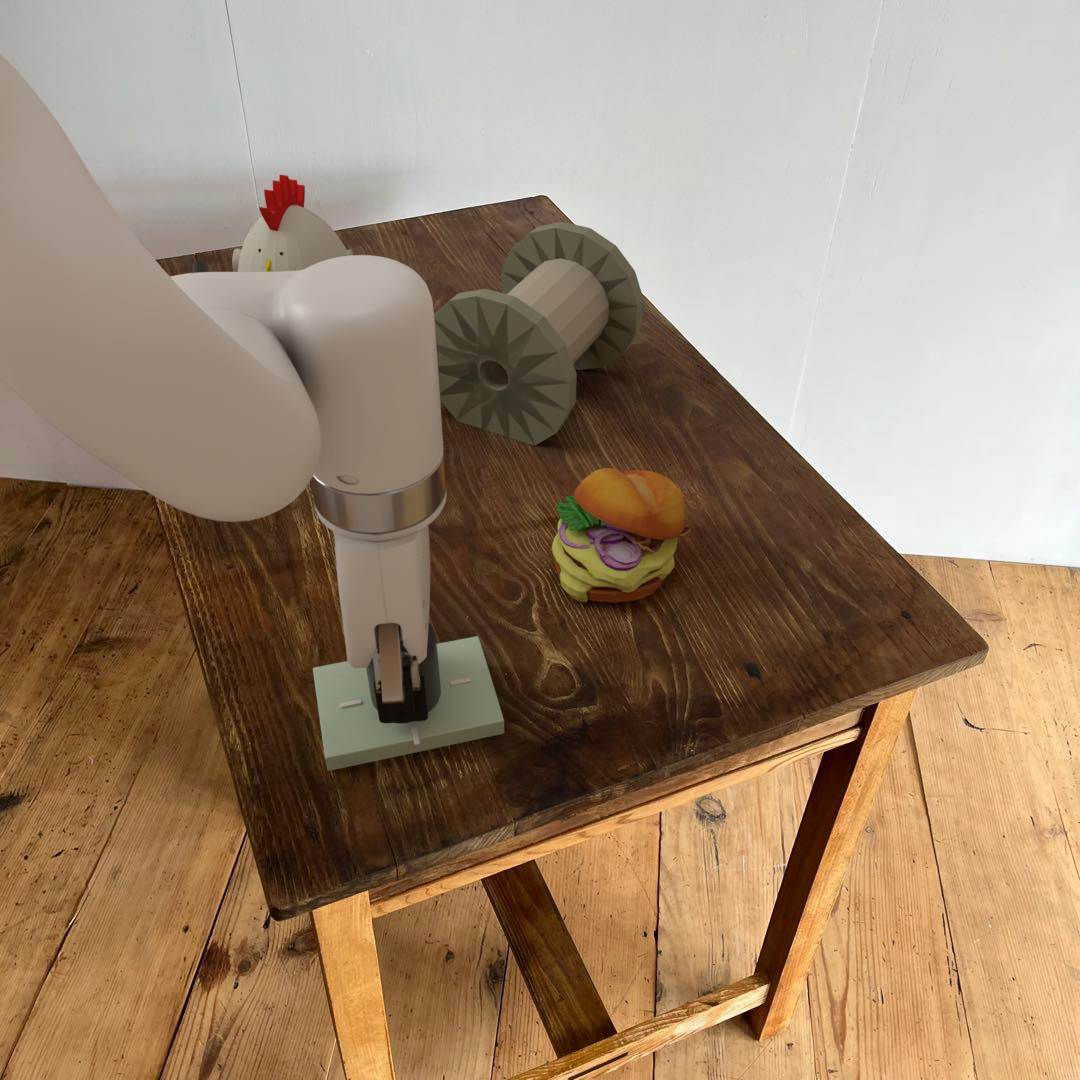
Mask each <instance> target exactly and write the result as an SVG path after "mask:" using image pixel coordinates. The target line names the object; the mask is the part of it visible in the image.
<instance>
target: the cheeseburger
mask: <svg viewBox="0 0 1080 1080" xmlns="http://www.w3.org/2000/svg"><path fill="white" fill-rule="evenodd" d="M564 500H565V501H566V502H562V501H558V503H557V504H558V505H557V508H556V511H557V513H559V516H558V518H559V520H558V522H557V533H556V534H555V536H554V537H553V542H552V545H551V550H552V554H553V563H554V566H555V569H556V573H557V576H558V579H559V582H560V587H561V588H562V589H563V590H564V591H565V592H566V594H568V595H569V596H570V597H571V599H574V600H575V601H576V602H579V603H587V602H588V600H590V601H592V602H600V603H601V602H602V603H622V602H623V603H624V602H630V601H631V602H632V601H638V600H640V599H643V598H645V597H648V596H651V595H653V594H654V593H655V592H656V590H657V589H658V588H659V587H660V586H661V585H662V584H663V582H664V580H665V579H666V578H667V576H668V575H669V574H671V572H672V571H673V569H674V568H675V557H674V555H675V552H676V550H677V547H678V538H679V537H681V536H686V535H687V534H689V533H690V532H691V528H690V527H691V526H690V525H688V524H685V523H686V516H687V509H686V504H685V499H684V495H683V491H682V490H681V489H680V488H679V487H678V486H677V484H675V483H674V482H673V481H672V479H670V478H668V477H667V476H664V475H663V474H661V473H658V472H655V471H651V470H642V469H641V470H640V469H628V470H627V469H625V470H618V469H616V468H612V467H602V468H600V469H596V470H593V472H591V473H590V474H588V475H587V476H586V477H585V478H583V479H582V481H581V482H580V483H579V484H578V486H577V487H576V488H575V490H574V493H573V495H566V496H565V497H564Z"/></svg>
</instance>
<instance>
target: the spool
mask: <svg viewBox="0 0 1080 1080" xmlns="http://www.w3.org/2000/svg"><path fill="white" fill-rule="evenodd" d="M641 289H642V288H641V286H640V283H639V280H638V277H637V273H636V270H635V269H634V267H633V266H632V265H631V263H630V262H629V261H628V259H627V258H626V257H625V255H624V254H623V253H622V251H621V250H620V249H619V248H618V246H617V245H616V244H615V243H613V242H612V241H610V240H609V239H607V238H606V237H604V236H603V235H602V234H600V233H599V232H597V231H595V230H594V229H592V228H591V227H587V226H583V225H578V224H575V223H570V222H565V221H559V222H554V223H549V224H544V225H540V226H536V227H535V228H534V229H532V230H531V231H530V232H528V234H526V235H525V236H524V237H523V238H522V239H520V240H519V241H518V242H517V243H516V244H514V245H513V246H512V247H511V248H510V250H509V252H508V255H507V257H506V259H505V262H504V264H503V267H502V269H501V292H499V291H495V290H491V289H488V288H482V289H481V288H480V289H475V290H469V291H463V292H459V293H457V294H456V295H455V296H453V297H452V298H451V299H449V300H448V301H447V302H446V303H445V304H444V305H442V306H441V307H440V308H439V309H438V310H436V311H434V318H435V333H436V347H437V361H438V376H439V390H440V403H442V404H443V406H444V407H445V408H446V409H447V410H448V412H449V413H450V414H451V416H452V417H453V418H454V419H455V421H457V422H459V423H461V424H465V425H469V426H471V427H475V428H477V429H481V430H484V431H487V432H489V433H493V434H497V435H500V436H503V437H505V438H509V439H512V440H515V441H519V442H521V443H524V444H528V445H530V446H537V445H539V444H540V443H542V442H543V441H545V440H547V439H549V438H551V437H553V436H554V435H556V434H557V433H558V432H559V431H560V430H561V428H563V426H564V425H565V424H566V421H567V419H568V417H569V416H570V414H571V412H572V410H573V409H574V407H575V405H576V403H577V376H578V375H577V371H583V370H592V369H602V368H605V367H606V366H608V365H609V364H611V363H612V362H614V361H617V359H619V358H621V357H623V355H625V354H626V353H627V351H628V350H629V349H630V347H631V345H632V344H633V342H634V340H635V339H636V338H637V335H638V334H639V332H640V330H641V328H642V325H643V315H644V314H643V313H644V302H645V299H644V295H643V292H642V290H641ZM576 370H577V371H576Z"/></svg>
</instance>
